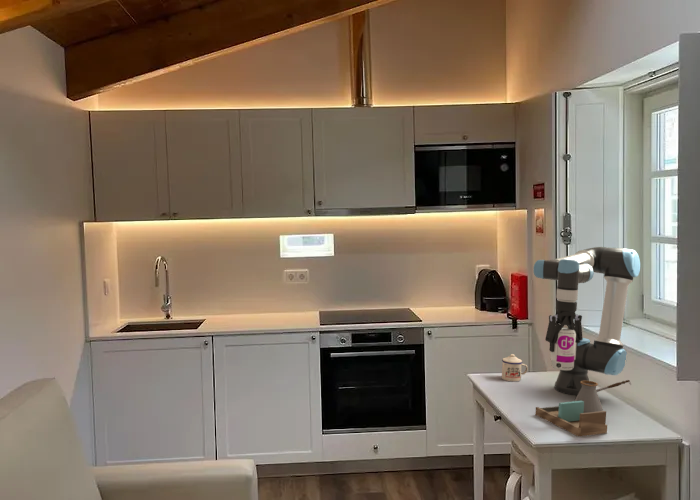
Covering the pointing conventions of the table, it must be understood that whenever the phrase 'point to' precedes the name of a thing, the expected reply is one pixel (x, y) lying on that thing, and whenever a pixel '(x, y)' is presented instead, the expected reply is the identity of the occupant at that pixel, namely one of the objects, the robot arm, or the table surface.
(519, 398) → the table surface
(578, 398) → the coffee pot
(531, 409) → the table surface
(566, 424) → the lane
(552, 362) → the supplement can
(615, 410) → the table surface
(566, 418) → the plate
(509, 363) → the teacup with lid
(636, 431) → the table surface
